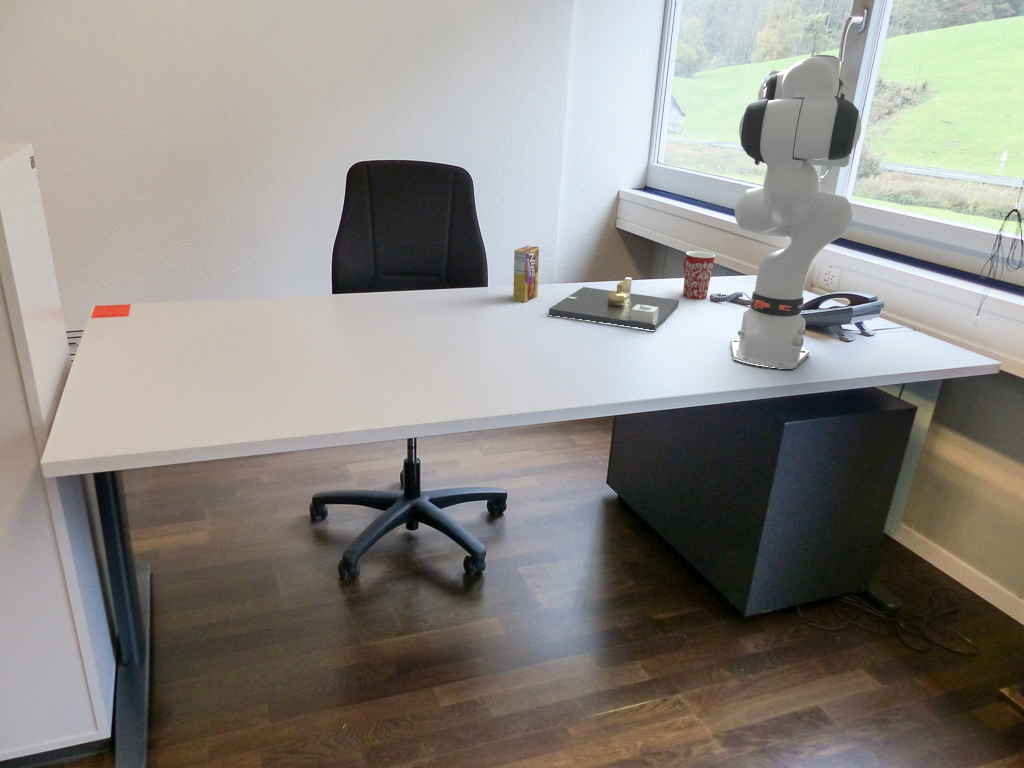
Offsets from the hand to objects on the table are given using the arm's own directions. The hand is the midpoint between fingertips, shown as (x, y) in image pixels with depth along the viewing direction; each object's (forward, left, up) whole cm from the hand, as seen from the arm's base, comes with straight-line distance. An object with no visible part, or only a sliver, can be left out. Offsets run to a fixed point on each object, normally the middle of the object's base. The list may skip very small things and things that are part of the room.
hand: (802, 182), depth 191 cm
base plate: (-8, +44, -39) cm, 59 cm away
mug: (+24, +28, -39) cm, 54 cm away
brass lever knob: (-3, +44, -37) cm, 57 cm away
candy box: (-9, +72, -39) cm, 82 cm away
